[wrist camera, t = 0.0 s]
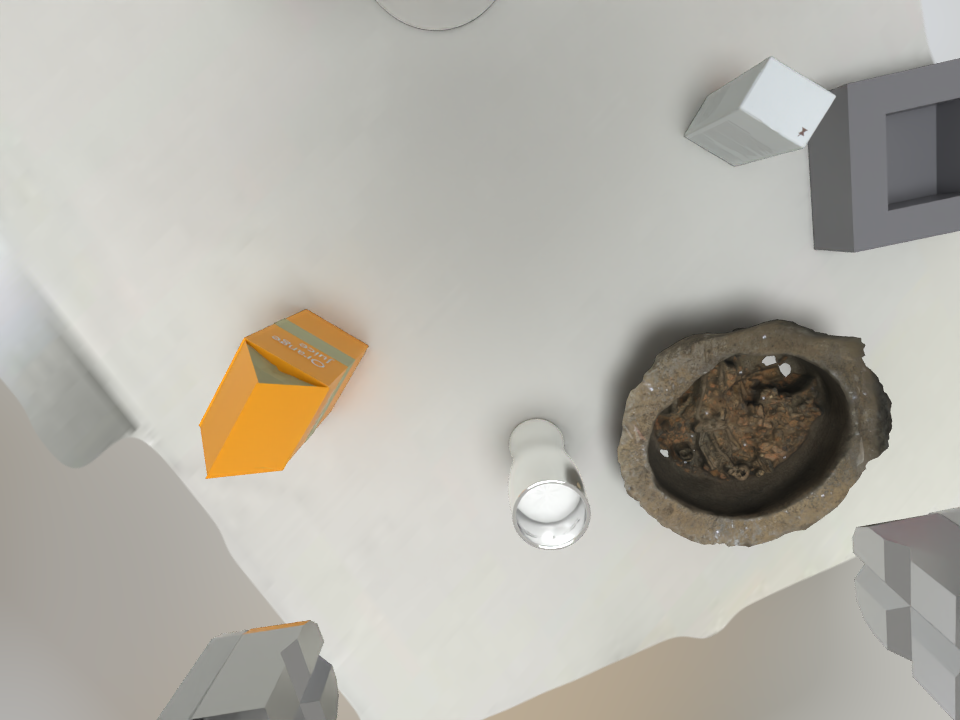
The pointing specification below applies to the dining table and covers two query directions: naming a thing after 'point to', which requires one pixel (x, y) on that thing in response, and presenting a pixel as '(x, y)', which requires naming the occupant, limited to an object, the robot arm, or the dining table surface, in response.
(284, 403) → the orange juice
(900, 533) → the robot arm
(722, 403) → the stone bowl
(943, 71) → the mount block
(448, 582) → the dining table surface
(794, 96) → the skincare box
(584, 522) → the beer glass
